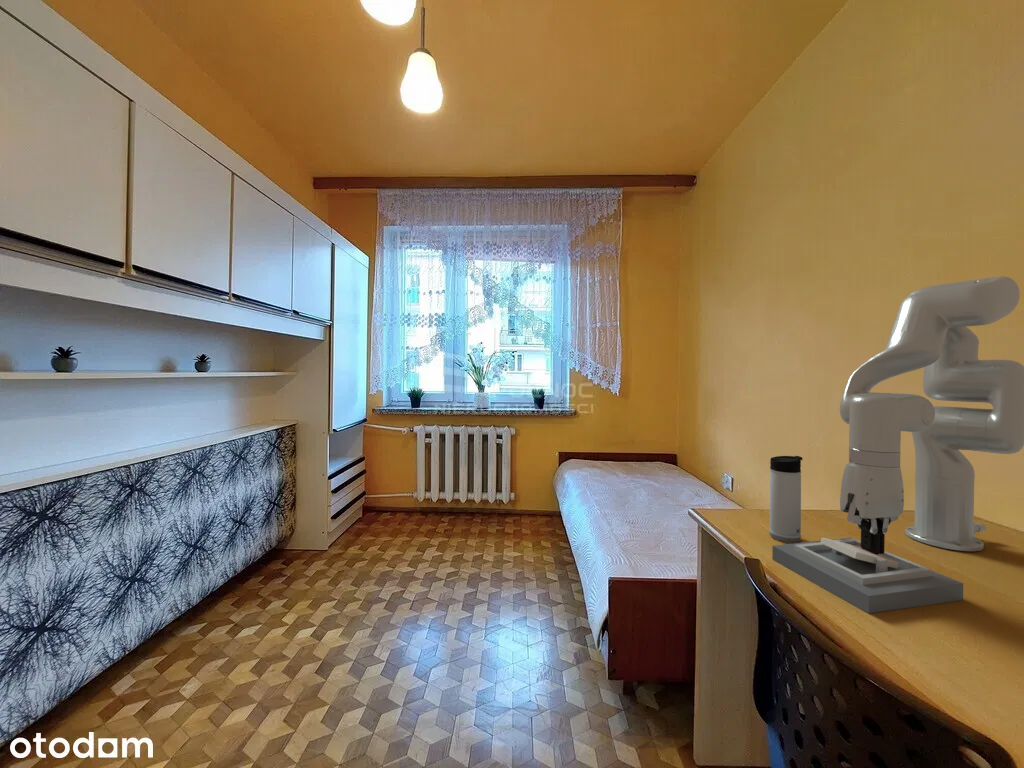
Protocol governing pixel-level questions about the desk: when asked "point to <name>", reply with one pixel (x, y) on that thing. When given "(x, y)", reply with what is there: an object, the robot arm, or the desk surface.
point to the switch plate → (868, 577)
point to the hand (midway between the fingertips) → (872, 550)
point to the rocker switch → (856, 552)
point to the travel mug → (785, 498)
